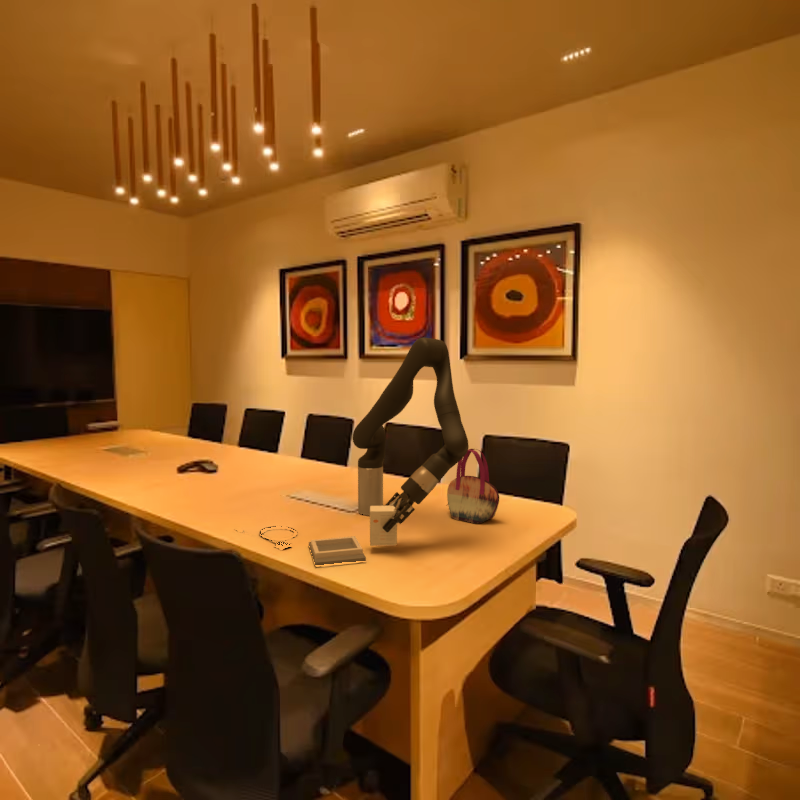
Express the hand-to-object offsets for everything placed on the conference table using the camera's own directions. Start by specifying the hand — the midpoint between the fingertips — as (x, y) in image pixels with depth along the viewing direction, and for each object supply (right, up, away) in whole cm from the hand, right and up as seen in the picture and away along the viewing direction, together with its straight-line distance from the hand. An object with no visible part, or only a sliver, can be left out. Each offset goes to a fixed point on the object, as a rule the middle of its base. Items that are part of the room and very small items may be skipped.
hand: (381, 526), depth 158 cm
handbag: (+31, -5, +33) cm, 45 cm away
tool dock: (-13, -8, -2) cm, 15 cm away
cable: (-35, -7, +15) cm, 39 cm away
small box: (0, -5, +1) cm, 5 cm away
